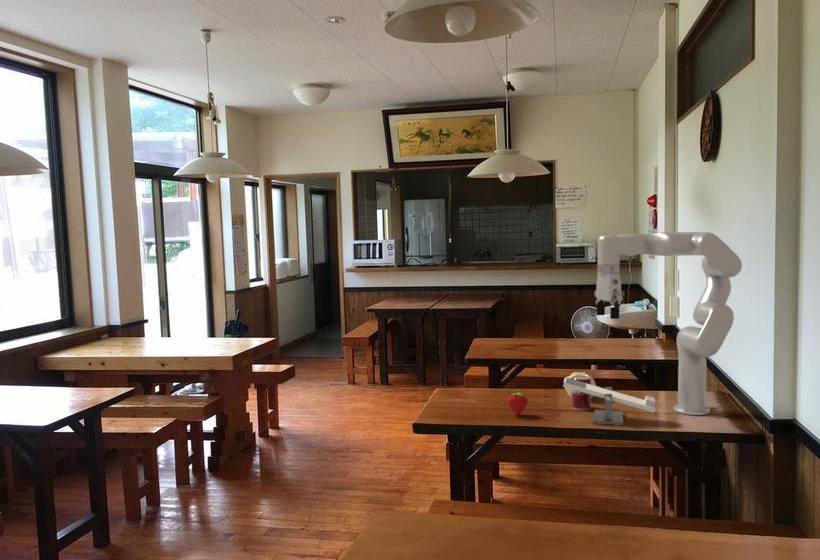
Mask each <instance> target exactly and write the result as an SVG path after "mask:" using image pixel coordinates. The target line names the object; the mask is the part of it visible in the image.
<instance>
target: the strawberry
mask: <svg viewBox="0 0 820 560" xmlns="http://www.w3.org/2000/svg"><path fill="white" fill-rule="evenodd" d="M517 390H518V392H514V393H513V392H512V393H510V395H509V396H508V397H507V400H506V402H507V406H508V407H509V408H510V410H511V411H512V412H513V413H514V414H515V415H516V416H520V415H521V413H523V411H525V409H526V407H527V405H528V398H527V397H526V396H525V395H526V394H524V393H522V392H520V391H519V389H517Z"/></svg>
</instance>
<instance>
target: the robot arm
mask: <svg viewBox="0 0 820 560" xmlns="http://www.w3.org/2000/svg"><path fill="white" fill-rule="evenodd" d="M620 255H621V256H622V255H625V256H631V257H632V256H633V257H634V256H636V255H652V256H659V257H661V256H662V257H663V256H664V257H665V256H666V257H671V256H672V257H674V256H676V257H677V256H679V257H681V256H701V257H702V256H703V258H702V260H701V261H702V262H701V268H702V270H703V272H704V275H705V279H706V285H705V288H704V290H703V292H702V294H701V296H700V298H699V301H697V304H696V305H695V308H694V310H693V312H692V318H693V320H694V321H695V323H696V324H698V325H701V327H702V328H700V327H697V326H693V325H690V326H689V325H688V326H685V327H683V328H681V329H680V330H679V331H678V333H677V336H676V348H677V355H678V374H677V375H678V376H677V377H678V382H677V383H678V385H677V387H678V388H677V392H678V394H677V399H678V400H677V404H675V405H673V410H674V412H677V413H679V414H683V415H689V416H705V415H709V414H710V413H711V409H710V408H709V406H706V405H707V402H708V401H709V397H707V359H706V358H709V357H713V356H714V355H716V354H717V353H718V352H719V351H720V349H721V348H722V345H723V344H724V342H725V340H726V338H727V336H728V334H729V333H730V331H731V328H732V327H733V323H734V319H735V316H734V311H733V309H732V308H731V307H730V306H729V305H728V304H726V303H727V302H728V299H729V297H730V295H731V291H732V285H731V284H732V283H731V279H730V278H733V277H736V276H737V275H739V274H740V272H741V271H742V267H743V265H742V264H743V262H742V260H741V258H740V257H739V255H738V254H737V253H736V252H735V251H734V250H733V249H731V248H730V246H728V245H727V243H725V241H723V240H722V239H721V238H720V237H719V236H717V235H716V234H714V233H712V232H709V231H708V232H706V231H703V232H702V231H683V232H681V231H679V232H676V231H675V232H672V231H671V232H670V231H669V232H668V231H667V232H653V233H629V234H628V233H621V234H620V233H619V234H617V235H614V234H613V235H612V234H608V235H607V234H604V235H599V236H598V240H597V270H596V271H597V273H596V274H597V278H596V287H595V288H596V289H595V291H594V292H593V294H594V300H595V304H596V305H595V306H596V308H595V311H596V313H595V314H596V316H605V315H606V304H605V302H606V303H607V302H609V303H610V306H611V307H610V315H609V316H610V319H612V320H614V319H615V320H618V319H620V308H621V305H622V300H623V294H622V280H621V275H620Z"/></svg>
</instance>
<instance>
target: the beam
mask: <svg viewBox="0 0 820 560" xmlns="http://www.w3.org/2000/svg"><path fill="white" fill-rule="evenodd" d="M564 379H565V381H564V380H563V384H562V385H563V386H562V387H567V388H570V389H574V390H577V391H581V392H584V393H588V394H591V395H594V396H593V397H599V398H603V399H605V394H612V402H616V403H620V404H622V405H626V406H629V407H632V408H636V409H640V410H643V411H646V412H651V413H654V414H655V412H656V409H657V408H656V399H655V397H653V396H649V395H645V398H644V399H642V398H638V397H635V396H633V395H628V394H624V393H621V392H618V391H614V390H612V391H611V390H607V389H605V387H604V388H603V387H600V386H598V385H596V386H593V385H590V384H586V383H584V382H580V381H577V380H573V379H570V378H566V377H565V378H564Z"/></svg>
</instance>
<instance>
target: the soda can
mask: <svg viewBox="0 0 820 560" xmlns="http://www.w3.org/2000/svg"><path fill="white" fill-rule="evenodd" d="M589 376H590V375H589ZM589 376H583V375H577V376H573V377H572V379H573V380H577V381H580V382H584V383H586V384H590V385H591V378H590V377H589ZM571 408H572V409H573V410H576V411H588V409H589V410H590V409H591V408H592V398H591V394H588V393H584V392H581V391H577V390H574V389H572V398H571Z"/></svg>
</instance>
